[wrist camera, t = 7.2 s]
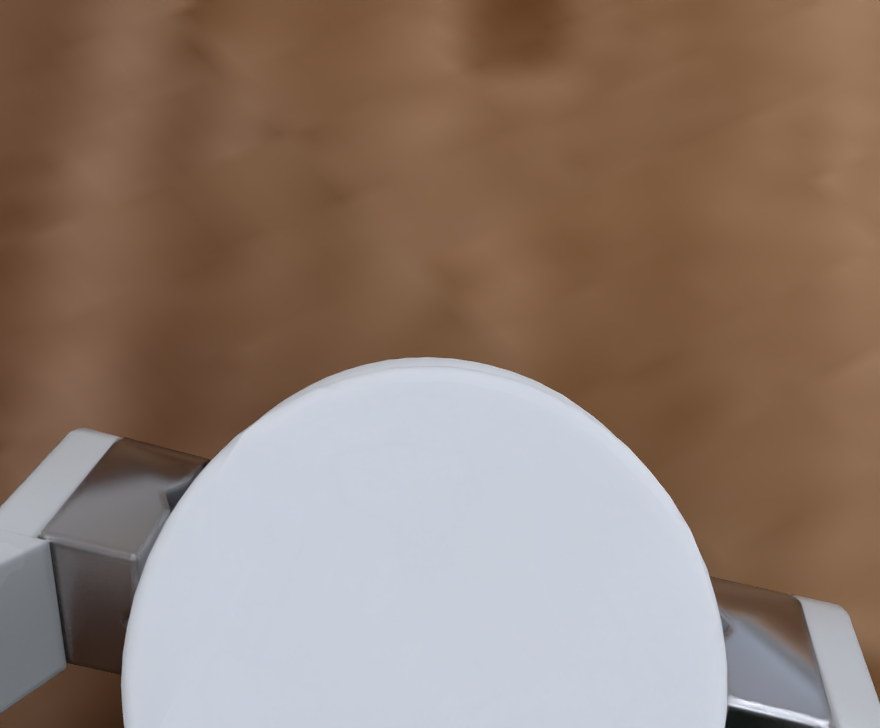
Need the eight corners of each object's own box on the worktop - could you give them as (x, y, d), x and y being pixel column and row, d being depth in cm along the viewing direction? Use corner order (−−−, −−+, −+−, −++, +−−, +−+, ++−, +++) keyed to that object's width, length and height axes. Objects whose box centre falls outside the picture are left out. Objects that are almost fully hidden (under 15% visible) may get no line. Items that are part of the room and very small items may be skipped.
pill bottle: (522, 794, 14) (705, 1339, 4) (236, 677, 14) (-163, 951, 5) (618, 497, 15) (930, 422, 6) (350, 396, 15) (209, 163, 6)
